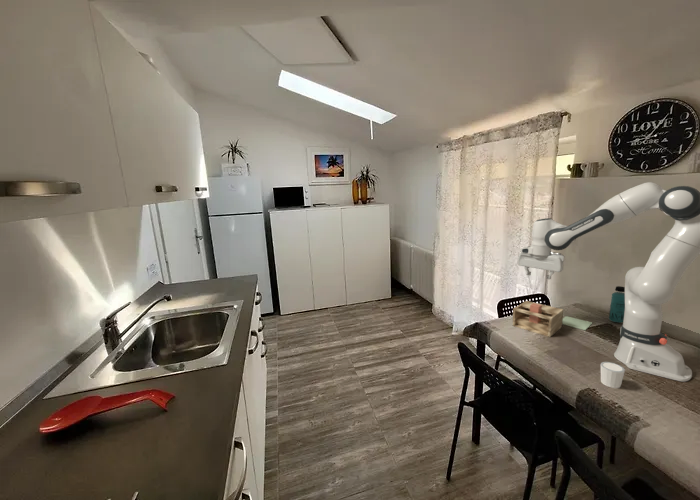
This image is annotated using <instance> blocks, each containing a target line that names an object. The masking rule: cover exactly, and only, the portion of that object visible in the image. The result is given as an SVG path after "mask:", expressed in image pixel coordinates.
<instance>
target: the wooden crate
mask: <svg viewBox="0 0 700 500" xmlns="http://www.w3.org/2000/svg"><path fill="white" fill-rule="evenodd" d="M533 303H535V304H539V305H542V309H541V314H538V313H534V312H530V305H531V304H533ZM530 315H533V316H537V317H540V318H541V321H540V322H539V323H538V324H537V323H534V322H530V321H529V316H530ZM563 318H564V309H563V308H558V307H554V306H552V305H551V306H550V305H546V304H541V303H538V302H533V301H528V300H526V301H524V302H522V303H520V304H519V305H517V306H515V307H514V308H513V309H512V327H515V328H517V329H522V330H525V331H527V332H531V333H534V334H537V335H541V336H545V337H548V338H551V337H553V335H555V334H557V332H558V331H559V330H561V329H562V327H563V324H562V320H563Z"/></svg>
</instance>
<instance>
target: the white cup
mask: <svg viewBox="0 0 700 500" xmlns="http://www.w3.org/2000/svg"><path fill="white" fill-rule="evenodd" d="M625 371H626V369H625V368H624V367H623V366H622V365H620V364H617V363H614V362H611V361H602V362H601V363H600V382H601V384H603V385H605V386H606V387H608V388H612V389H620V388H621V387H622V382H623V379H624V375H625V373H626V372H625Z"/></svg>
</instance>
